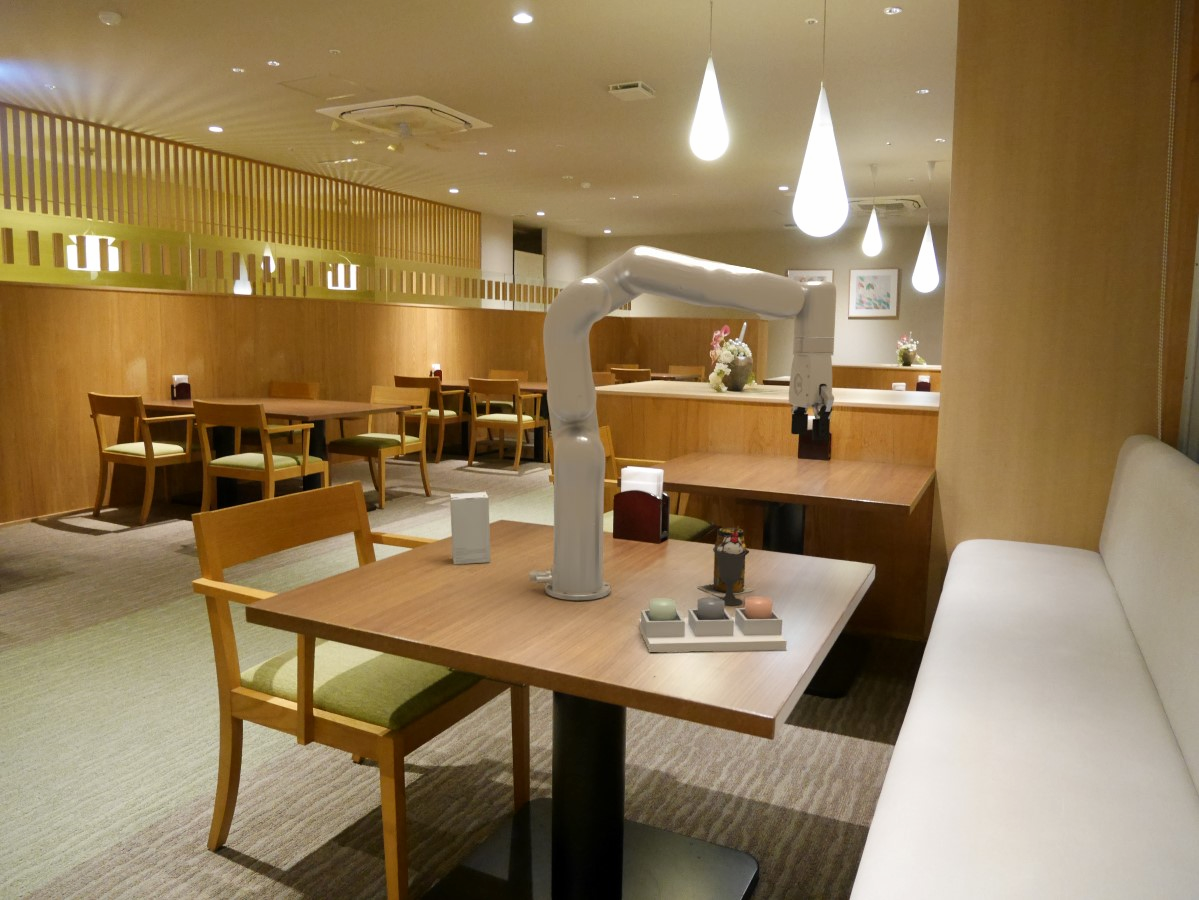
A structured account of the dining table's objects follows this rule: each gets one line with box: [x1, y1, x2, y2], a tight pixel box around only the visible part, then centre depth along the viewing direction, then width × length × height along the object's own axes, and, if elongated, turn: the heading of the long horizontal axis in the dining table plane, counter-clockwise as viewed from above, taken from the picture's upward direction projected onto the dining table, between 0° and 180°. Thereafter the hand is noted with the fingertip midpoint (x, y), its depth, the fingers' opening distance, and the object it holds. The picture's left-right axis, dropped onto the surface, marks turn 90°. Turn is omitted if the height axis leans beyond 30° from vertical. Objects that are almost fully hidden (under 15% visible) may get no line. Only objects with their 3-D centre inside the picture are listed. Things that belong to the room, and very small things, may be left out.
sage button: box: [648, 597, 677, 621], centre depth 140 cm, size 4×4×3 cm
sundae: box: [712, 525, 750, 607], centre depth 160 cm, size 7×7×15 cm
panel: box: [638, 607, 788, 653], centre depth 142 cm, size 22×12×4 cm, turn 95°
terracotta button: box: [744, 595, 773, 619], centre depth 142 cm, size 4×4×3 cm
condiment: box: [697, 527, 754, 598], centre depth 169 cm, size 7×8×12 cm
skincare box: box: [449, 491, 492, 566], centre depth 187 cm, size 8×6×15 cm
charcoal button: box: [696, 596, 726, 620], centre depth 141 cm, size 4×4×3 cm
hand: (809, 436), depth 165 cm, fingers open, 9 cm apart
